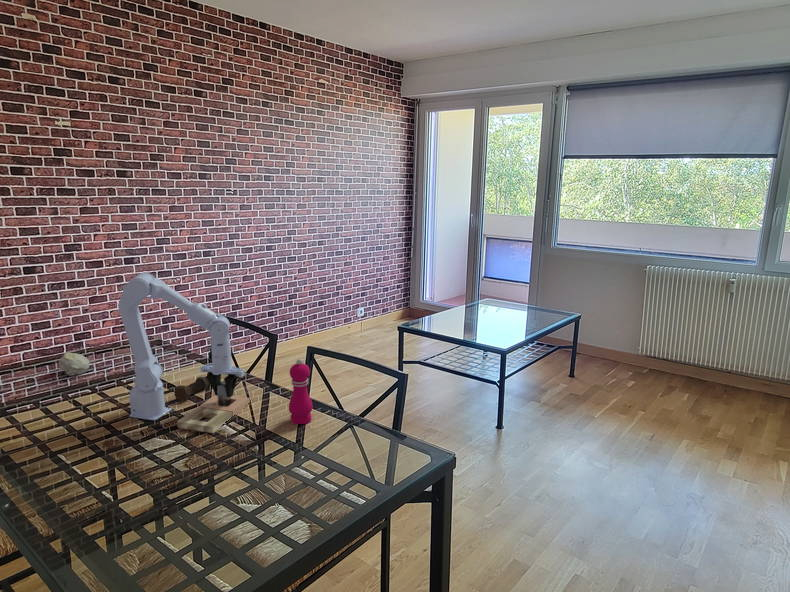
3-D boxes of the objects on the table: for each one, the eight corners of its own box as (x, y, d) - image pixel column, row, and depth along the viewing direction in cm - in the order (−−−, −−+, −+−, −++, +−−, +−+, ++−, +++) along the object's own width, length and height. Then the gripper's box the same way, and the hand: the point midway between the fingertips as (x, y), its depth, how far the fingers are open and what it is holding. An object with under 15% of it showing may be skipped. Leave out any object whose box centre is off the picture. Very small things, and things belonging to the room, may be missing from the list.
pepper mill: (317, 418, 160) (316, 357, 156) (304, 428, 154) (302, 365, 149) (298, 413, 163) (296, 353, 159) (284, 422, 157) (282, 360, 152)
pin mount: (177, 427, 153) (177, 421, 152) (198, 412, 162) (197, 407, 162) (213, 433, 150) (212, 426, 150) (232, 417, 159) (231, 412, 159)
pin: (215, 405, 164) (213, 385, 162) (222, 400, 168) (221, 380, 166) (226, 407, 163) (225, 386, 162) (233, 402, 167) (232, 382, 165)
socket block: (199, 412, 163) (198, 406, 162) (217, 399, 172) (217, 393, 172) (233, 417, 160) (232, 411, 159) (249, 403, 169) (249, 398, 169)
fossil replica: (83, 366, 200) (55, 376, 192) (77, 345, 197) (49, 355, 190) (98, 370, 193) (70, 381, 185) (92, 350, 191) (63, 359, 183)
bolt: (212, 389, 184) (183, 405, 170) (202, 381, 185) (171, 396, 171) (218, 377, 183) (189, 392, 169) (208, 369, 183) (178, 383, 169)
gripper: (193, 356, 160) (196, 397, 163) (235, 361, 156) (237, 403, 159) (206, 349, 166) (209, 388, 170) (247, 354, 163) (249, 394, 166)
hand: (224, 395), depth 165 cm, fingers closed on pin, 4 cm apart
